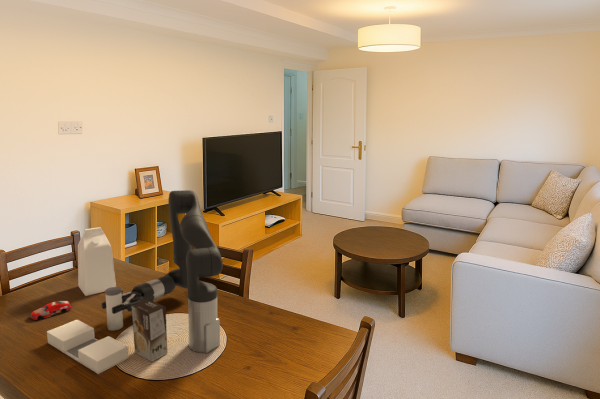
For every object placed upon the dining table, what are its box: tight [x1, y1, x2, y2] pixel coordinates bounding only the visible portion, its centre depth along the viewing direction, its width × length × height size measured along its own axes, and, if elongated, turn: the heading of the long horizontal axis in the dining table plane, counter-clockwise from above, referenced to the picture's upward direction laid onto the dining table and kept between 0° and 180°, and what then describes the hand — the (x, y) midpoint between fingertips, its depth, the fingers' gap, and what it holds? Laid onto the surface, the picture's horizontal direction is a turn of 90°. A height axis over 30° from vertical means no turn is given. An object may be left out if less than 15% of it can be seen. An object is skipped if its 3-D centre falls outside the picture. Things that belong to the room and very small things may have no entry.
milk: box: [77, 226, 117, 297], centre depth 178 cm, size 12×12×26 cm
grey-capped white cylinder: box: [104, 286, 124, 331], centre depth 149 cm, size 5×5×14 cm
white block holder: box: [46, 319, 129, 375], centre depth 135 cm, size 28×10×4 cm, turn 57°
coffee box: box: [131, 299, 168, 362], centre depth 134 cm, size 9×6×16 cm
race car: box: [30, 300, 72, 321], centre depth 157 cm, size 13×5×4 cm, turn 134°
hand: (107, 308), depth 146 cm, fingers open, 5 cm apart
